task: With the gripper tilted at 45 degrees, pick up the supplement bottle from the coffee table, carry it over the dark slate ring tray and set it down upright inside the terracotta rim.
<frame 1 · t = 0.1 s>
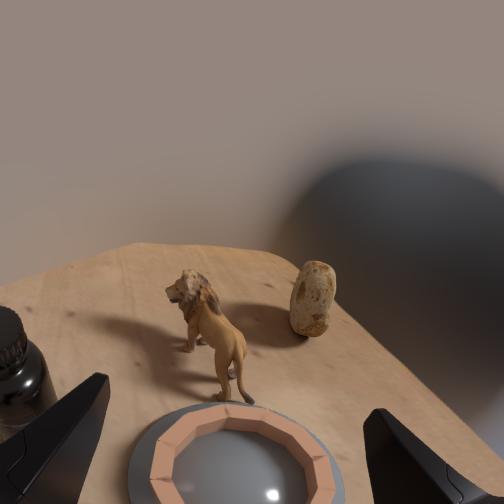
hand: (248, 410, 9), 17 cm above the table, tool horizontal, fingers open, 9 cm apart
supplement bottle: (34, 433, 17), on the table
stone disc: (299, 328, 44), on the table
ring tray: (240, 484, 20), on the table
lion figurine: (203, 363, 33), on the table
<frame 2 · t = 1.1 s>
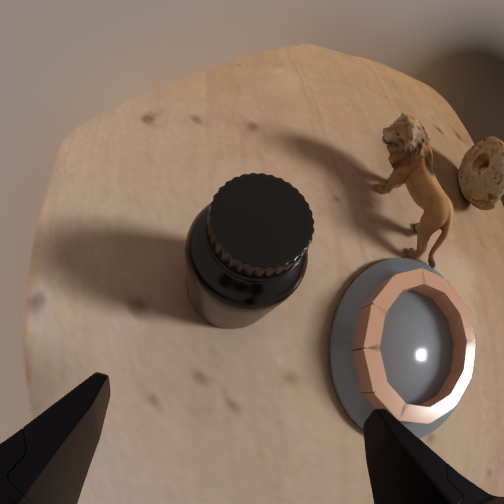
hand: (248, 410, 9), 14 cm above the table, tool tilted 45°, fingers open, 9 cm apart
supplement bottle: (229, 289, 24), on the table
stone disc: (463, 189, 36), on the table
ring tray: (411, 348, 25), on the table
lion figurine: (394, 208, 31), on the table
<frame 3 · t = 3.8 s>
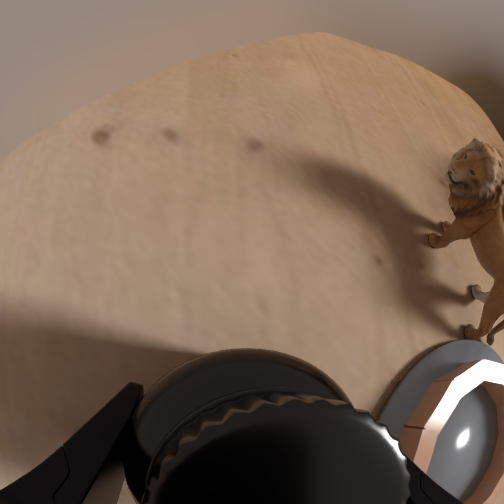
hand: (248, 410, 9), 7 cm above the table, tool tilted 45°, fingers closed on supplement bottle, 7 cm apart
supplement bottle: (219, 419, 14), on the table, touching gripper
ring tray: (454, 452, 15), on the table
lion figurine: (448, 267, 21), on the table
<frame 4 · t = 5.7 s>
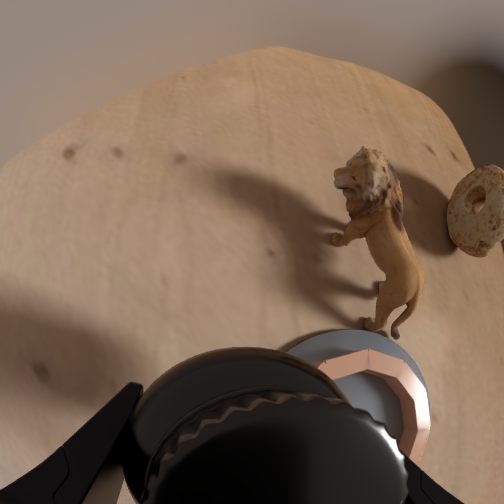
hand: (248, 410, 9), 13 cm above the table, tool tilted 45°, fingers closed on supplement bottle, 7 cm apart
supplement bottle: (217, 418, 14), point 6 cm above the table, touching gripper
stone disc: (452, 226, 31), on the table
ring tray: (345, 435, 21), on the table
lion figurine: (353, 264, 27), on the table, touching ring tray
when the fingers open (8 cm above the table, at t = 8.1 s): supplement bottle stays where it is, resting on ring tray.
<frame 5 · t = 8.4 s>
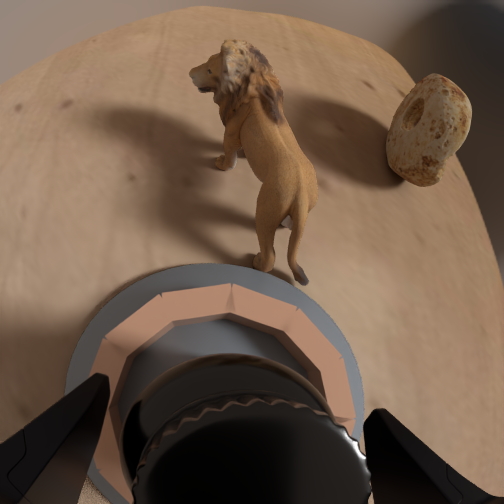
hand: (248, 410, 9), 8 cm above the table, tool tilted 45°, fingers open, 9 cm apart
supplement bottle: (213, 418, 15), resting on ring tray
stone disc: (395, 159, 27), on the table
ring tray: (218, 415, 16), on the table
lion figurine: (244, 191, 22), on the table
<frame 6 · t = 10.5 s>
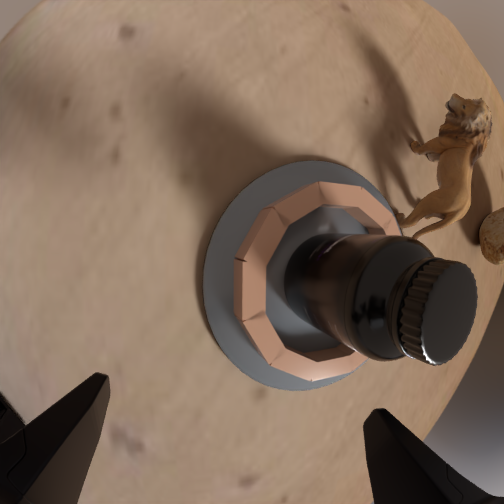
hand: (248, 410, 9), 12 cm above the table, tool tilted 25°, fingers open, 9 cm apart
supplement bottle: (320, 279, 23), resting on ring tray
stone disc: (482, 230, 31), on the table
ring tray: (320, 280, 23), on the table
lion figurine: (413, 172, 26), on the table, touching ring tray
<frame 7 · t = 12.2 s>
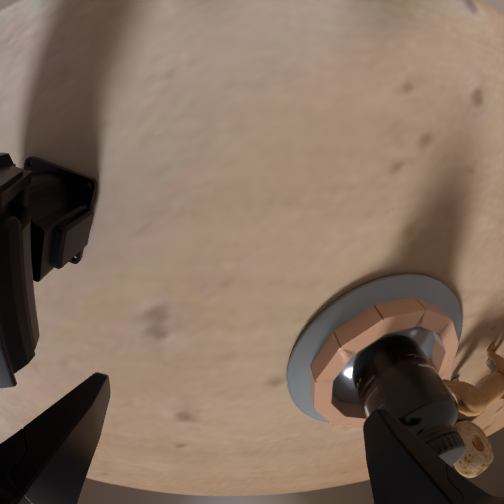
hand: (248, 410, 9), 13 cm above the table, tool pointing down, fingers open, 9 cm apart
supplement bottle: (383, 360, 25), resting on ring tray
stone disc: (456, 424, 33), on the table
ring tray: (381, 360, 25), on the table
lion figurine: (474, 359, 28), on the table
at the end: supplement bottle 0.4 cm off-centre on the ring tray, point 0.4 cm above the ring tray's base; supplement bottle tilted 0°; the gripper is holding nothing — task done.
